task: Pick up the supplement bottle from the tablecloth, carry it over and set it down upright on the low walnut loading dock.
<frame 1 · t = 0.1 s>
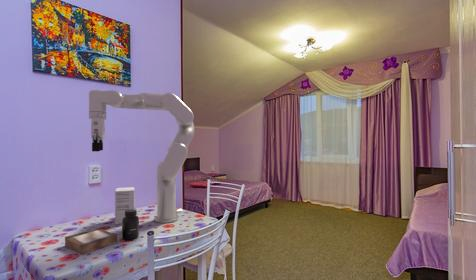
hand: (97, 150, 127), 37 cm above the table, tool pointing down, fingers open, 9 cm apart
supplement box: (125, 221, 136), on the table
supplement bottle: (130, 238, 112), on the table
dock: (91, 244, 106), on the table
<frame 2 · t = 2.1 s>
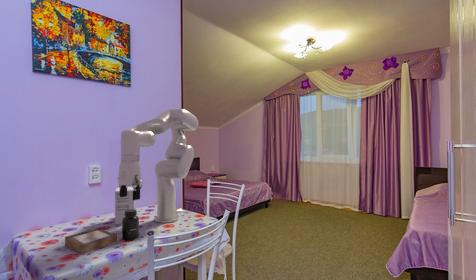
hand: (129, 198, 112), 17 cm above the table, tool pointing down, fingers open, 9 cm apart
nothing on the table moved.
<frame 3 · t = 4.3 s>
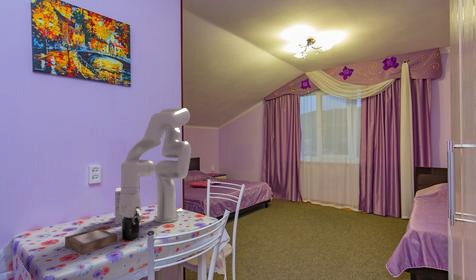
hand: (130, 230, 112), 3 cm above the table, tool pointing down, fingers closed on supplement bottle, 6 cm apart
supplement bottle: (130, 238, 112), on the table, touching gripper
everything else where it was.
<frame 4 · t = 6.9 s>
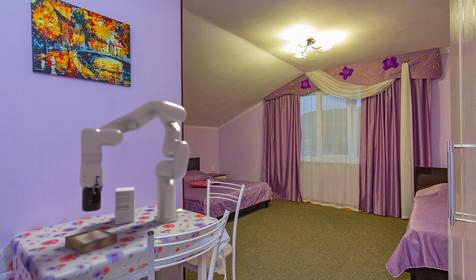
hand: (91, 201, 106), 17 cm above the table, tool pointing down, fingers closed on supplement bottle, 6 cm apart
supplement bottle: (91, 210, 106), point 14 cm above the table, touching gripper
everything else where it was.
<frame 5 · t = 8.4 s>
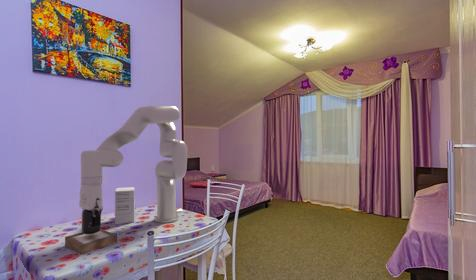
hand: (91, 223, 106), 8 cm above the table, tool pointing down, fingers closed on supplement bottle, 6 cm apart
supplement bottle: (91, 232, 106), point 5 cm above the table, touching gripper
everything else where it was.
when the fingers open (8 cm above the table, at t = 9.5 s): supplement bottle drops 1 cm, resting on dock.
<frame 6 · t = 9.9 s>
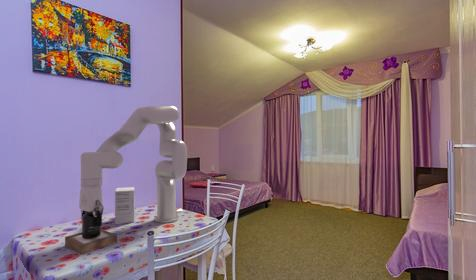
hand: (91, 223, 106), 8 cm above the table, tool pointing down, fingers open, 9 cm apart
supplement bottle: (91, 236, 106), point 3 cm above the table, touching dock
everything else where it was.
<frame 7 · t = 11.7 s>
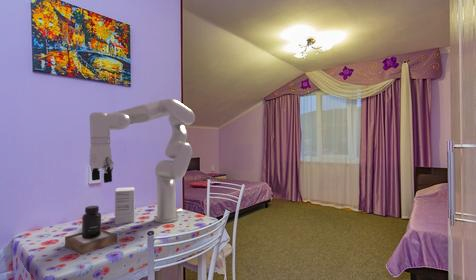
hand: (101, 181, 111), 25 cm above the table, tool pointing down, fingers open, 9 cm apart
nothing on the table moved.
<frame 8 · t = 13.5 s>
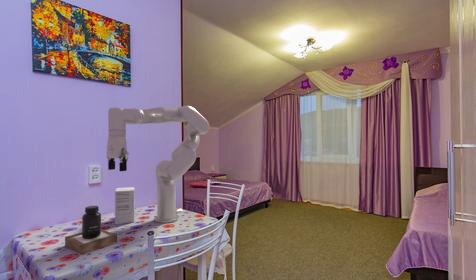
hand: (117, 170, 122), 28 cm above the table, tool pointing down, fingers open, 9 cm apart
nothing on the table moved.
at the end: supplement bottle inside the target area on the dock (0.3 cm from its centre), point 3.0 cm above the dock's base; supplement bottle tilted 0°; the gripper is holding nothing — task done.
